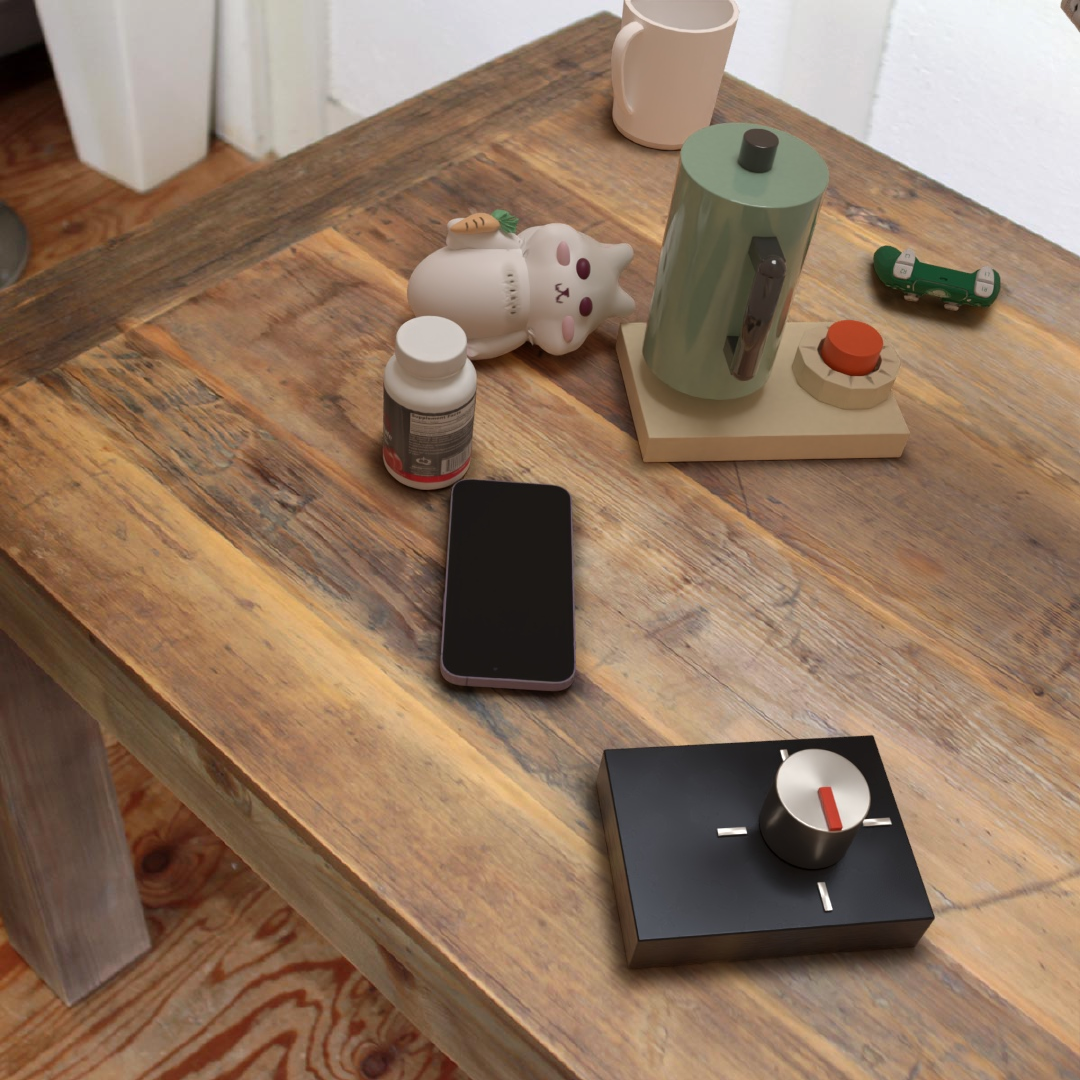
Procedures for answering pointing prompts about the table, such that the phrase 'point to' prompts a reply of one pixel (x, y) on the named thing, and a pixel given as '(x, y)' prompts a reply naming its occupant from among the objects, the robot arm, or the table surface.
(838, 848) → the knob
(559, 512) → the smartphone
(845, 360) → the button
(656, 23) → the mug
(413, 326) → the pill bottle
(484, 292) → the cat figurine
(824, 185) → the kettle
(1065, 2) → the robot arm
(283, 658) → the table surface
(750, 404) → the kettle base
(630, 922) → the dial panel
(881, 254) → the gaming controller
